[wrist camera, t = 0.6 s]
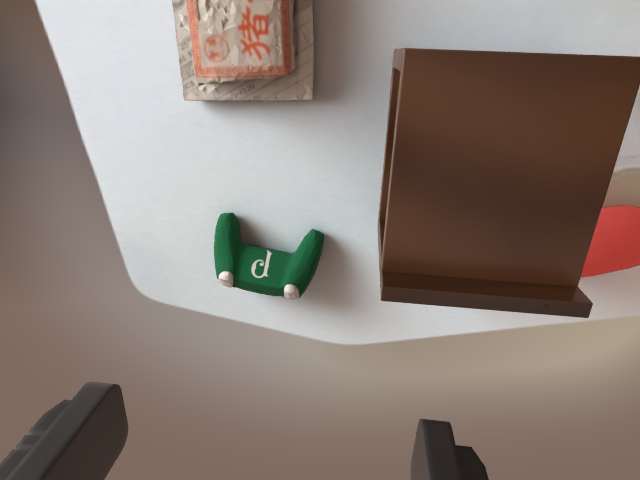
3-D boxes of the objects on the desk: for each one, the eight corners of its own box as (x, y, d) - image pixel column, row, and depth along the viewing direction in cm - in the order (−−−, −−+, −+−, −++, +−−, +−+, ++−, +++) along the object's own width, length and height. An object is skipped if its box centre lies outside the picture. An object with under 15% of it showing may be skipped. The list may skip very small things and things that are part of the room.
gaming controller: (226, 224, 41) (208, 285, 39) (219, 207, 37) (198, 274, 35) (323, 243, 40) (310, 306, 38) (325, 228, 37) (311, 296, 35)
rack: (394, 49, 32) (407, 47, 21) (565, 55, 31) (674, 57, 20) (377, 227, 37) (380, 301, 26) (522, 237, 36) (588, 318, 25)
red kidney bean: (538, 185, 36) (531, 239, 32) (677, 188, 32) (688, 250, 28) (536, 231, 39) (529, 285, 35) (661, 239, 35) (668, 301, 31)
